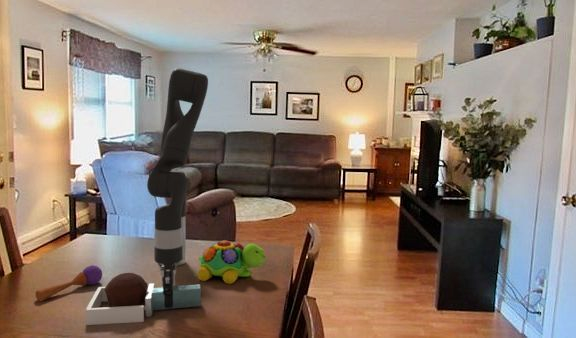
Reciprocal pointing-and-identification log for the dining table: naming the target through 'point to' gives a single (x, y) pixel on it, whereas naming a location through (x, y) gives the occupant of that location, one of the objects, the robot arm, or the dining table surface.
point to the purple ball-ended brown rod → (73, 282)
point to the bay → (111, 311)
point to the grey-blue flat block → (181, 297)
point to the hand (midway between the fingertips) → (169, 303)
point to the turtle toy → (229, 261)
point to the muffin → (126, 290)
